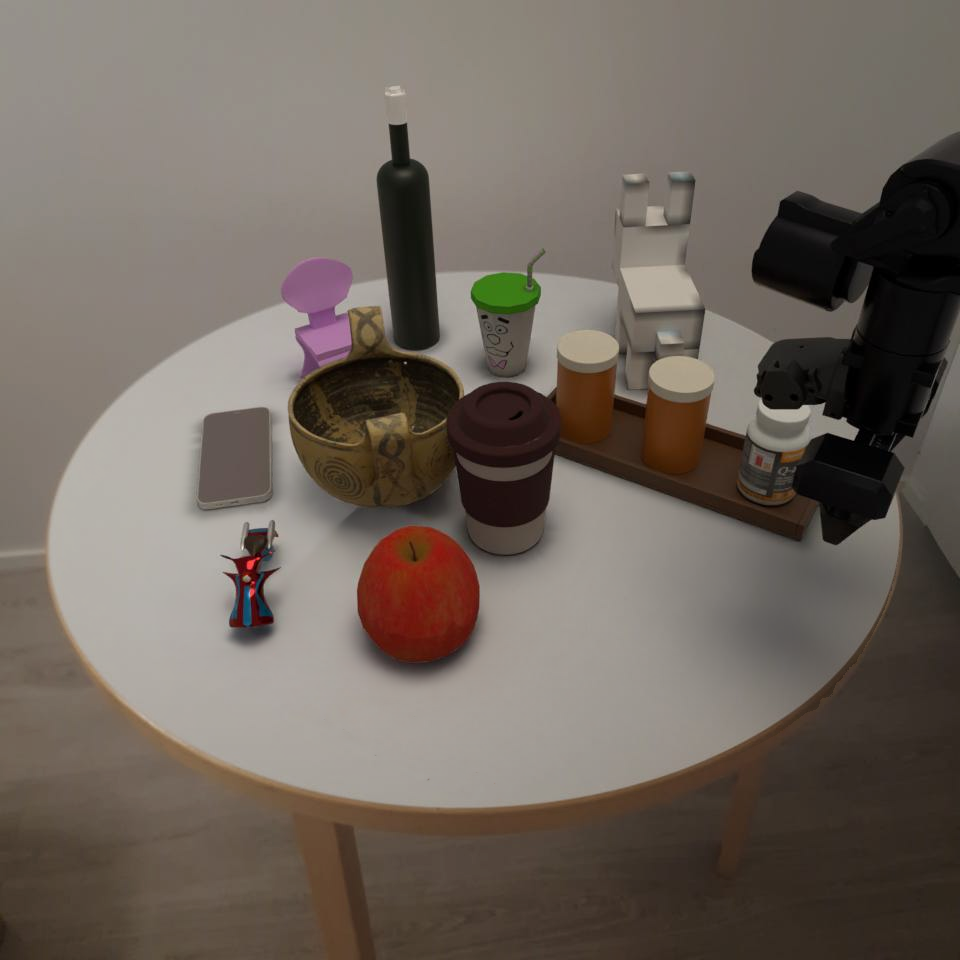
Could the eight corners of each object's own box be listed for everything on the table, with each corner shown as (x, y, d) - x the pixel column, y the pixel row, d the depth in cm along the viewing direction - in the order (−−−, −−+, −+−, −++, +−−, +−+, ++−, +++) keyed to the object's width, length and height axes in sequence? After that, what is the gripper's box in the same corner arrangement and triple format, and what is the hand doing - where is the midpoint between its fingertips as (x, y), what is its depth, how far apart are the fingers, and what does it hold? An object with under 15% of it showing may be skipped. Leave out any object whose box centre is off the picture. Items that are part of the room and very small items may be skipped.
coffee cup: (443, 506, 90) (434, 380, 80) (540, 487, 91) (542, 362, 82) (467, 577, 82) (460, 448, 73) (571, 555, 84) (578, 427, 74)
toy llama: (632, 402, 102) (648, 236, 89) (607, 321, 115) (618, 165, 102) (699, 399, 102) (725, 232, 89) (666, 317, 115) (685, 162, 102)
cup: (461, 374, 107) (455, 258, 97) (493, 342, 112) (491, 228, 102) (520, 392, 104) (520, 273, 94) (551, 358, 109) (553, 242, 99)
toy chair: (321, 416, 101) (299, 297, 92) (291, 379, 107) (268, 263, 97) (387, 393, 105) (373, 275, 95) (355, 357, 110) (339, 243, 100)
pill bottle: (781, 516, 87) (802, 434, 80) (725, 493, 89) (741, 411, 83) (805, 484, 90) (827, 402, 83) (750, 462, 93) (768, 382, 86)
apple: (451, 569, 83) (444, 483, 76) (503, 648, 76) (501, 561, 69) (345, 609, 80) (329, 523, 73) (390, 696, 73) (376, 609, 66)
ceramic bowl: (490, 544, 85) (486, 416, 76) (309, 573, 83) (280, 446, 74) (451, 407, 102) (443, 287, 92) (298, 428, 100) (274, 308, 90)
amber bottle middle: (710, 448, 94) (724, 366, 88) (687, 482, 91) (700, 399, 84) (654, 430, 97) (664, 349, 90) (630, 463, 93) (638, 380, 86)
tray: (831, 479, 91) (835, 463, 90) (800, 541, 85) (804, 525, 83) (563, 392, 104) (564, 378, 102) (518, 441, 97) (518, 426, 96)
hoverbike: (222, 648, 77) (207, 604, 73) (239, 547, 86) (226, 504, 83) (283, 642, 77) (271, 598, 74) (293, 543, 86) (283, 499, 83)
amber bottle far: (622, 420, 99) (629, 339, 92) (596, 451, 95) (602, 369, 88) (571, 403, 101) (574, 323, 94) (544, 433, 97) (545, 352, 91)
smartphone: (195, 505, 90) (202, 414, 101) (197, 511, 90) (204, 420, 101) (271, 494, 90) (270, 405, 102) (273, 501, 91) (271, 412, 102)
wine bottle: (447, 330, 114) (431, 81, 95) (428, 354, 110) (407, 99, 91) (406, 322, 116) (382, 76, 96) (385, 345, 112) (356, 94, 93)
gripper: (820, 248, 70) (782, 412, 80) (736, 368, 58) (703, 542, 68) (977, 283, 65) (915, 452, 75) (919, 421, 53) (855, 599, 64)
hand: (846, 505), depth 71 cm, fingers open, 9 cm apart
